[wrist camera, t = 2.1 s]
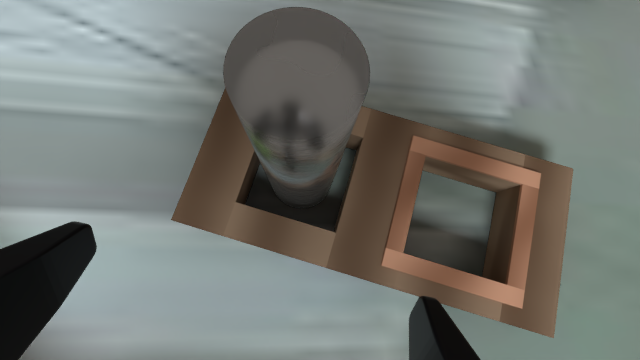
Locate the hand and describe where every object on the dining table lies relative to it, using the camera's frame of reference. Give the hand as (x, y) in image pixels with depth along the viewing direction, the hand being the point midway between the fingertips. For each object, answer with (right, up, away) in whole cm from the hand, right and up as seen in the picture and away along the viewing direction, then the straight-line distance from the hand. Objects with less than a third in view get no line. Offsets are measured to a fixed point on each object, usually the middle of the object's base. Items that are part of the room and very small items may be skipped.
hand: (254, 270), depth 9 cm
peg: (+1, +3, +13) cm, 13 cm away
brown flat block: (+5, +1, +13) cm, 14 cm away
